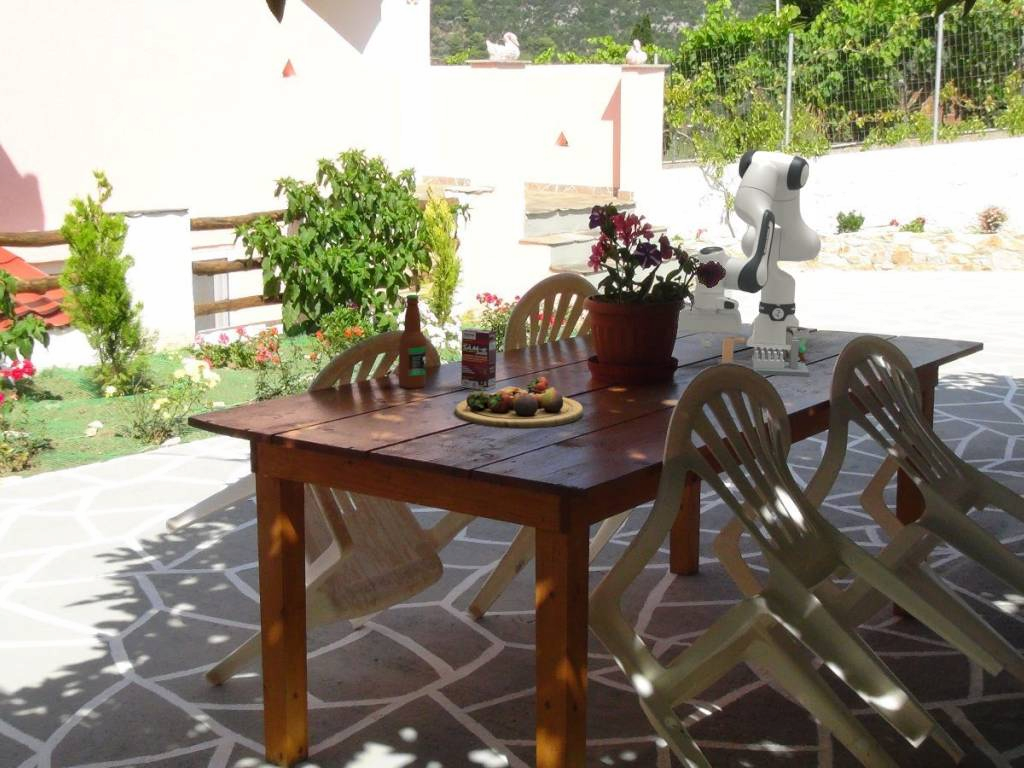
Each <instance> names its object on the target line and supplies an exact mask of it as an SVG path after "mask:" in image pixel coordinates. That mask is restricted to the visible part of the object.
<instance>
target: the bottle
mask: <svg viewBox="0 0 1024 768" xmlns="http://www.w3.org/2000/svg"><path fill="white" fill-rule="evenodd" d="M406 299H407V300H406V304H407V305H406V309H405V315H404V322H403V323H404V325H403V326H404V331H403V332H402V334H401V335H400V337H399V340H398V385H399V386H400V387H401V388H403V389H422V388H424V387H425V386H426V382H427V378H426V377H427V375H426V373H427V363H426V362H427V359H426V358H427V353H426V352H427V351H426V350H427V340H426V337H425V335H424V334H423V332H422V330H421V314H420V309H419V306H418V305H419V295H418V294H408V295H406Z"/></svg>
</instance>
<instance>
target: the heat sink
mask: <svg viewBox="0 0 1024 768" xmlns="http://www.w3.org/2000/svg"><path fill="white" fill-rule="evenodd" d="M790 345H792V348H791V350H790V356H789V361H785V358H784V352H783V349H773V348H771V349H772V352H771V350H770V348H765V349H766V350H764V348H761V347H759V351H758V347H753V354H751V360H743V359H733V362H734V363H739V364H743V365H746V366H749V367H751V368H753V369H754V370H756V371H757V372H759V373H761V374H763V375H764V374H766V375H765V376H786V375H793V377H810V371H809V369H808V367H807V365H806V364H805V362H800V363H798V351H799V340H798V338H791V340H790ZM718 363H722V359H717V364H718ZM761 374H760V375H761ZM794 375H795V376H794Z"/></svg>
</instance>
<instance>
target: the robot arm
mask: <svg viewBox="0 0 1024 768" xmlns="http://www.w3.org/2000/svg"><path fill="white" fill-rule="evenodd" d="M809 175H810V164H809V163H808V162H807V160H806V159H804V157H801V156H797V155H796V156H795V155H791V154H789V153H783V152H780V151H779V152H778V151H776V152H774V151H765V150H758V149H750V150H746V152H744V153H743V154H742V155H741V158H740V160H739V164H738V176H739V177H740V179H741V180H740V182H739V185H738V187H737V190H736V194H735V196H734V199H733V209H734V212H735V214H736V216H737V217H738V218H739V219H740V220H741V221H742V222H744V223H745V224H747V225H748V226H750V227H752V228H748V229H747V230H746V231H745V232H744V234H743V235H742V237H741V243H740V244H741V245H740V246H741V250H742V253H743V254H744V256H745V257H747V258H741V257H736V256H735V257H733V256H731V255H728V254H727V253H725V249H724V248H723V247H720V246H706V247H703V248H701V249H699V251H698V253H697V257H696V259H697V258H698V259H699V262H701V263H707V262H709V261H715V262H719V263H720V264H721V265H722V267H723V268H724V269H725V270H726V275H725V277H724V278H723V279H722V280H720V281H719V282H718V284H717V285H716V286H714V287H712V288H707V287H706V286H705V285H704V284H701V283H699V280H698V277H694V279H695V288H694V294H693V296H694V297H693V298H694V299H693V301H694V304H693V307H692V311H690V309H691V305H692V304H691V301H692V300H684V301H685V304H684V305H685V308H684V309H682V310H681V312H680V316H679V321H678V329H677V332H679V333H698V337H699V339H700V341H701V348H703V349H704V348H710V349H712V348H713V346H712V345H713V342H714V340H715V339H716V337H717V334H726V335H727V334H731V335H739V334H741V333H742V332H743V322H742V321H743V320H742V316H741V311H740V310H739V306H740V305H739V303H740V302H738V301H737V300H736V299H734V298H731V297H727V296H725V289H726V290H732V291H741V292H744V293H749V294H756V293H759V292H760V301H759V303H758V312H759V313H758V315H757V316H756V317H755V318H754V320H753V321H752V323H751V329H752V330H751V334H752V335H750V336H749V337H748V338H747V340H746V342H747V341H748V342H760V343H772V344H784V345H786V326H796V327H800V320H798V318H797V317H796V315H795V314H796V309H797V307H796V302H795V295H796V280H795V278H794V276H792V274H790V273H788V272H787V271H785V270H783V269H781V268H780V267H779V265H778V262H798V263H799V262H807V261H813V260H815V259H816V258H817V257H818V256H819V253H820V252H821V248H822V242H821V238H820V236H819V234H818V233H817V232H816V231H815V230H814V229H812V228H811V227H809V226H808V224H806V222H805V221H804V218H803V216H802V214H801V203H800V200H801V199H800V197H801V195H800V194H801V189H802V188H804V187H805V186H806V184H807V181H808V179H809V177H810V176H809ZM776 226H778V227H776ZM699 262H697V264H696V263H695V266H696V265H699ZM690 314H691V315H690ZM707 333H708V334H710V335H711V338H710V340H705V339H704V338H703V337H704V335H705V334H707Z"/></svg>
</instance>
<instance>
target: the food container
mask: <svg viewBox="0 0 1024 768" xmlns="http://www.w3.org/2000/svg"><path fill="white" fill-rule="evenodd" d="M809 337H810V331H809V329H808V328H806V327H804V326H803V327H802V326H799V327H796V326H786V345H790V340H791V338H798V340H799V351H798V362H800V361H804V362H805V357H806V349H807V343H808V342H807V341H808V338H809ZM784 350H785V349H784ZM789 356H790V350H785V353H784V357H786V358H787V359H789ZM786 358H785V359H786ZM787 359H786V360H787ZM800 363H801V362H800Z"/></svg>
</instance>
